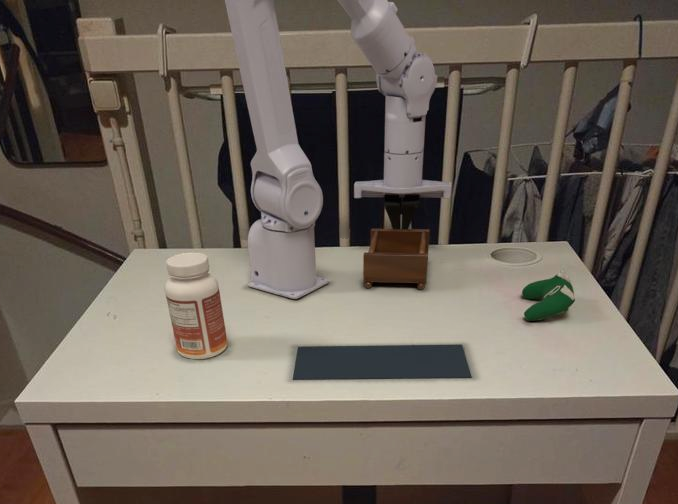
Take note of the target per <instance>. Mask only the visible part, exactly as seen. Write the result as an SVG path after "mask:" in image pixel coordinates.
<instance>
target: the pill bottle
mask: <svg viewBox="0 0 678 504" xmlns="http://www.w3.org/2000/svg"><path fill="white" fill-rule="evenodd" d="M165 265H166V270H167V274H168V276H169V277H170V278H168V279H167V280H166V282H165V285H164V293H165V298H166V303H167V308H168V312H169V317H170V323H171V327H172V332H173V336H174V341H175V347H176V350H177V352H178V353H179V354H180V355H181V356H182V357H184V358H187V359H191V360H205V359H209V358H212V357H215V356H218V355H220V354H221V353H222V352H224V351H225V350H226V348H227V347H228V338H227V330H226V325H225V318H224V312H223V305H222V300H221V298H222V297H221V292H220V287H219V286H220V285H219V282H218V280H217V278H216V277H215V276H214V275H212V274H211V273H209V272H210V262H209V257H208V255H206V254H205V253H202V252H194V251H193V252H182V253H177V254H174V255H172V256H170V257H168V258H167V259H166V261H165Z"/></svg>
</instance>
